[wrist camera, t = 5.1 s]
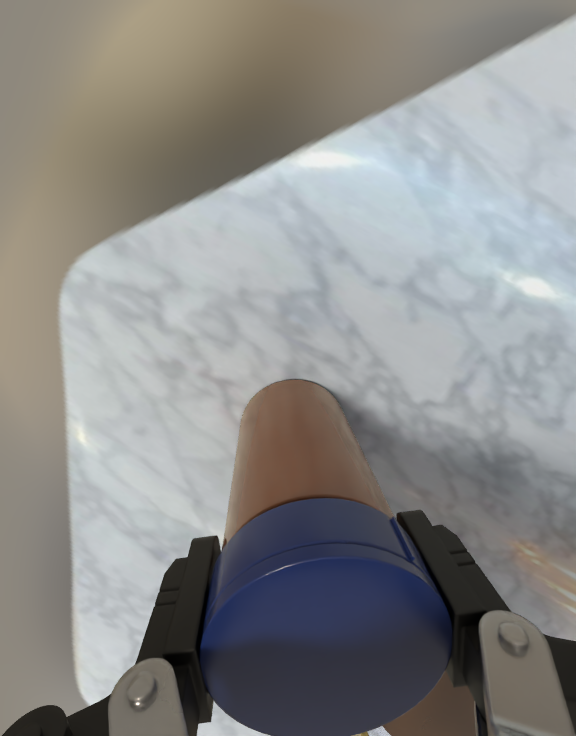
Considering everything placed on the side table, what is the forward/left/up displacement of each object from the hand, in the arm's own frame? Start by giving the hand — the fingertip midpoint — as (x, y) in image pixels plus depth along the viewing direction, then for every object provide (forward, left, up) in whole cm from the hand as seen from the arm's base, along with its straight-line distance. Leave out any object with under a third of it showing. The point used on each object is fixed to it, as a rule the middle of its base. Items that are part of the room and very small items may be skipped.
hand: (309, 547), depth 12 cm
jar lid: (0, 0, +3) cm, 3 cm away
